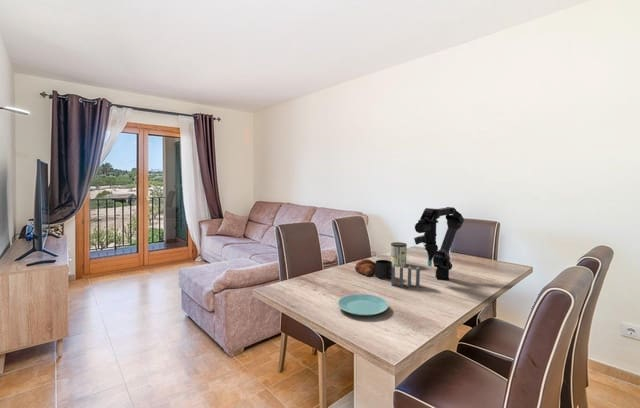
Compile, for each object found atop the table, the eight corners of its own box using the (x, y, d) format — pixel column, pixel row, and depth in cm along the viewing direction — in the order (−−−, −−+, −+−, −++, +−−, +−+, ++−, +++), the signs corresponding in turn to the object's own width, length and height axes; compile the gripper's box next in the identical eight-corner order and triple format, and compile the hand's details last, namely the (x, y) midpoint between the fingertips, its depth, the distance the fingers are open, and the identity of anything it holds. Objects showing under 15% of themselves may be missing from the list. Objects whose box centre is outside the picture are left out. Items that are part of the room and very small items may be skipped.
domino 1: (394, 283, 169) (395, 265, 168) (394, 286, 164) (394, 267, 163) (391, 282, 169) (392, 264, 168) (391, 285, 164) (391, 267, 164)
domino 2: (402, 283, 168) (403, 265, 167) (402, 286, 163) (403, 268, 162) (399, 283, 168) (400, 265, 167) (399, 286, 163) (399, 268, 162)
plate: (353, 324, 120) (353, 317, 120) (329, 303, 141) (329, 297, 140) (399, 314, 129) (399, 308, 129) (370, 296, 150) (370, 290, 149)
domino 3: (410, 284, 166) (411, 266, 166) (410, 287, 162) (411, 268, 161) (407, 284, 167) (408, 266, 166) (407, 287, 162) (408, 268, 161)
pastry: (346, 271, 192) (347, 258, 191) (362, 266, 202) (363, 254, 201) (368, 277, 179) (368, 264, 179) (384, 272, 190) (384, 259, 189)
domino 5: (430, 263, 171) (431, 246, 170) (431, 266, 166) (432, 248, 165) (427, 263, 171) (428, 246, 170) (428, 266, 166) (428, 247, 165)
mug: (386, 281, 171) (387, 265, 170) (371, 276, 181) (372, 261, 180) (398, 278, 176) (398, 263, 175) (383, 273, 186) (383, 258, 185)
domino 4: (418, 285, 165) (419, 266, 165) (419, 288, 161) (419, 269, 160) (415, 284, 166) (416, 266, 165) (416, 287, 161) (416, 269, 160)
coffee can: (395, 261, 214) (395, 241, 213) (409, 264, 207) (409, 243, 206) (387, 264, 206) (387, 243, 205) (401, 267, 199) (401, 246, 198)
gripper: (414, 228, 178) (413, 254, 179) (415, 233, 160) (415, 262, 161) (434, 229, 175) (434, 256, 176) (438, 234, 157) (437, 264, 158)
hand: (429, 259), depth 168 cm, fingers closed on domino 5, 5 cm apart
